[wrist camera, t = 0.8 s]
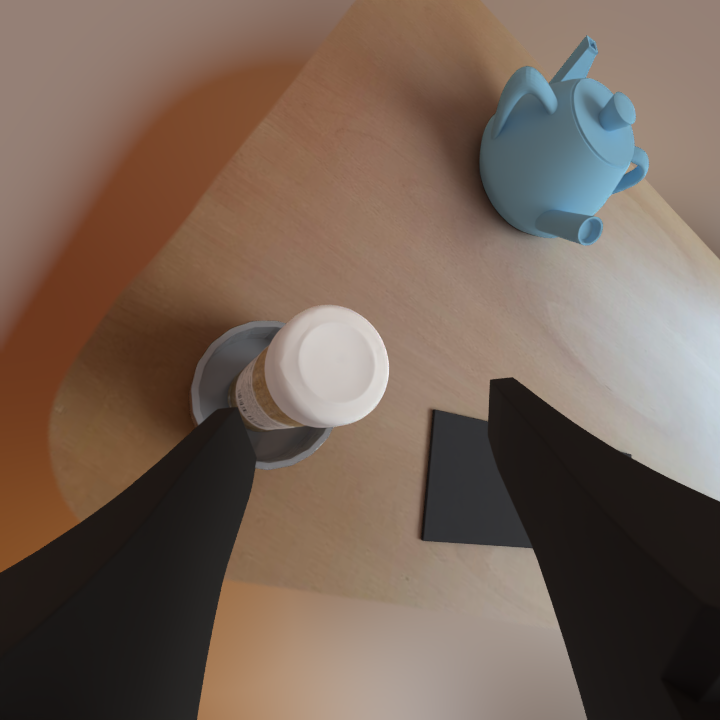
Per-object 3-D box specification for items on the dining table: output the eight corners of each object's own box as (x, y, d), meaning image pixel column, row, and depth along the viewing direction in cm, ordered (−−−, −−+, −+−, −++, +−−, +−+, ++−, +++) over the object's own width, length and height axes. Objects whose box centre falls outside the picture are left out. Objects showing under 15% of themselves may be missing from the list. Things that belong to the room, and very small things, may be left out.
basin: (284, 488, 26) (299, 495, 23) (158, 424, 23) (156, 422, 20) (341, 376, 29) (362, 368, 26) (237, 309, 27) (245, 292, 23)
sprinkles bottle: (302, 419, 27) (408, 404, 15) (236, 441, 25) (298, 444, 13) (283, 356, 27) (373, 292, 15) (216, 373, 25) (259, 313, 13)
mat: (421, 540, 29) (423, 540, 29) (433, 409, 32) (435, 409, 32) (632, 554, 40) (635, 555, 39) (628, 454, 42) (631, 454, 42)
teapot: (431, 149, 37) (526, 45, 27) (520, 101, 45) (618, 6, 35) (516, 281, 39) (633, 228, 29) (587, 212, 47) (698, 153, 37)
